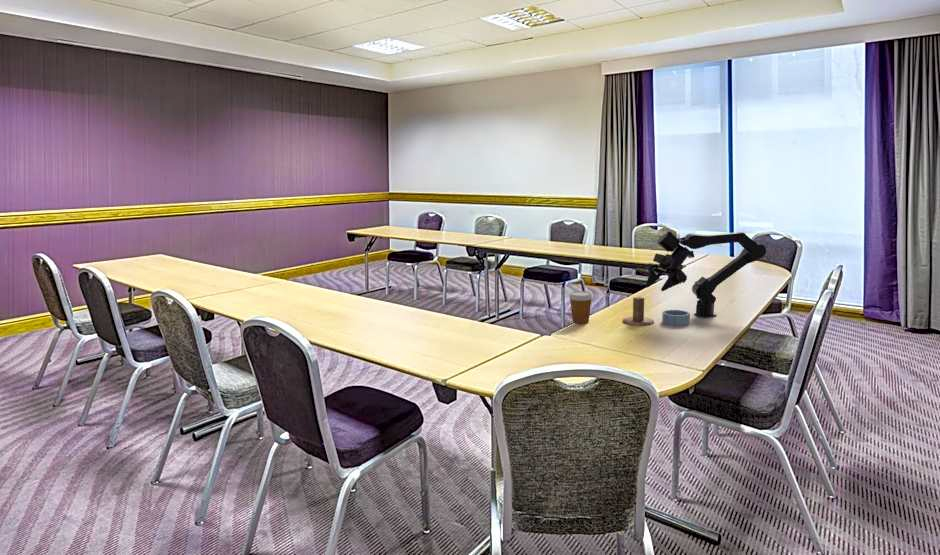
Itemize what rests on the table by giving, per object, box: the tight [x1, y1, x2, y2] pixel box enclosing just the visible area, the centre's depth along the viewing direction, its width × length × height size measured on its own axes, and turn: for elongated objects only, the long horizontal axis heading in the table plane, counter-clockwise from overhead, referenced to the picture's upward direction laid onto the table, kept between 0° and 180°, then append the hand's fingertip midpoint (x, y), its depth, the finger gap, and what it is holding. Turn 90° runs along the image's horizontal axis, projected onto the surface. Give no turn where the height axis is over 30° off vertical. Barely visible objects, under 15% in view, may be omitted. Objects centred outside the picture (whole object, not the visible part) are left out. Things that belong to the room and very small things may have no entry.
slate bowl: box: [661, 309, 691, 327], centre depth 237 cm, size 10×10×4 cm
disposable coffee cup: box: [568, 290, 594, 325], centre depth 242 cm, size 10×10×12 cm
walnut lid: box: [622, 296, 655, 327], centre depth 240 cm, size 12×12×10 cm
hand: (653, 288), depth 241 cm, fingers open, 9 cm apart
